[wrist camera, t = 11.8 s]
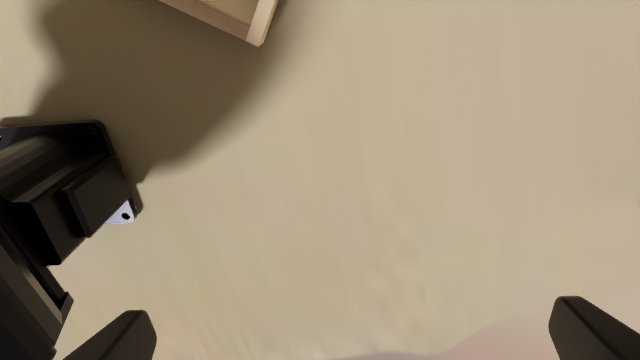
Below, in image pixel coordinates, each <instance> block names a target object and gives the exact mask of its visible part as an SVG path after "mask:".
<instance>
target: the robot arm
mask: <svg viewBox="0 0 640 360" xmlns="http://www.w3.org/2000/svg"><path fill="white" fill-rule="evenodd" d="M92 127H94V128H95V129H96V130H97V133H96V132H94V131H93V129H92ZM0 136H1V137H2V138H1V137H0V360H53V359H54V356H55V354H56V352H57V351H56V349H55V348H54V346H55V344H56V341H57V339H58V337H59V334H60V332H61V330H62V327H63V325H64V323H65V320H66V318H67V316H68V313H69V311H70V309H71V306H72V304H73V302H74V300H73V298H72V297H71V296H70V294H69V293H68V292H65V291H64V290H63V288H62V287H61V286H60V284H59V283H58V281H57V280H56V279H55V277H54V276H53V274H52V273H51V272H50V270H49V269H48V267H49V266H50V265H60V264H61V263H62V262H63V261H64V260H65V259H66V258H67V257H68V256H69V255H70V254H71V253H72V252H73V251H74V250H75V249H76V248H77V247H78V246H79V245H80V244H81V243H82V242H83V241H84V240H85V239H86V238H90V237H92V236H93V235H94V234H95V233H96V232H97V231H98V230H99V229H100V228H101V227H102V226H103V225H104V224H121V223H131V222H132V221H134V219H135V218H136V217H137V211H136V209H135V206H134V203H133V201H132V198H131V193H130V190H129V188H128V185H127V182H126V180H125V177H124V174H123V171H122V169H121V166H120V163H119V161H118V159H117V157H116V155H115V152H114V150H113V147H112V144H111V142H110V139H109V136H108V134H107V131H106V128H105V126H104V125H103V124H102V123H101V122H100V121H98V120H82V121H68V122H53V123H39V124H25V125H10V126H0ZM125 213H127V214H129V216H128V215H126V214H125ZM549 333H550V335H551V338H552V341H553V343H554V346H555V348H556V350H557V353H558V355H559V358H560V360H640V334H639V333H637V332H636V331H634V330H633V329H631V328H629V327H628V326H626V325H625V324H623V323H622V322H620V321H618V320H617V319H615V318H614V317H612V316H611V315H609V314H608V313H606V312H604V311H603V310H601V309H599V308H598V307H596V306H595V305H593V304H592V303H590V302H589V301H587V300H585V299H584V298H582V297H580V296H560V297H558V298H557V299H556V300H555V303H554V306H553V310H552V313H551V317H550V320H549ZM156 342H157V336H156V332H155V330H154V327H153V325H152V323H151V320H150V318H149V316H148V314H147V312H146V311H144V310H129V311H126V312H124V313H122V314H121V315H120V316H118V317H117V318H116V319H115V320H113V321H112V322H111V323H109V324H108V325H107V326H106V327H104V328H103V329H102V330H100V331H99V332H98V333H96V334H95V335H94V336H93V337H91V338H90V339H89V340H87V341H86V342H85V343H84V344H82V345H81V346H80V347H78V348H77V349H76V350H75V351H73V352H72V353H71V354H69V355H68V356H67V357H65V358H64V359H63V360H152V357H153V353H154V350H155V347H156Z"/></svg>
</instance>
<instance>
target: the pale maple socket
mask: <svg viewBox="0 0 640 360" xmlns="http://www.w3.org/2000/svg"><path fill="white" fill-rule="evenodd" d="M159 1H161V2H163V3H165V4H167V5H169V6H172V7H174V8H176V9H178V10H180V11H182V12H184V13H187V14H189V15H191V16H193V17H195V18H197V19H199V20H202V21H204V22H206V23H208V24H210V25H212V26H214V27H216V28H219V29H221V30H223V31H225V32H227V33H229V34H231V35H234V36H236V37H238V38H240V39H242V40H244V41H246V42H249V43H251V44H253V45H255V46H257V47H259V46H260V45H261V44H263V43H264V41H265V38H266V35H267V32H268V29H269V27H270V24H271V21H272V18H273V15H274V13H275V10H276V7H277V4H278V1H279V0H159Z"/></svg>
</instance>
